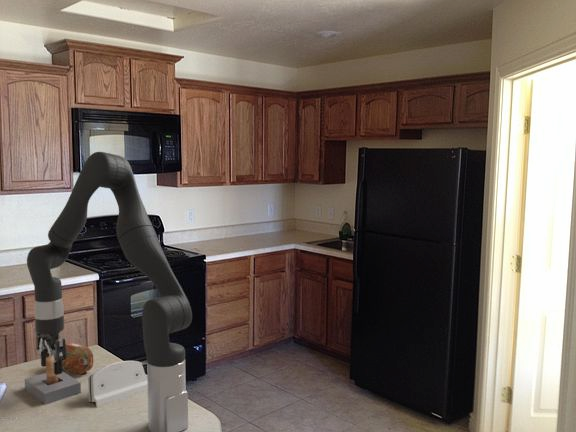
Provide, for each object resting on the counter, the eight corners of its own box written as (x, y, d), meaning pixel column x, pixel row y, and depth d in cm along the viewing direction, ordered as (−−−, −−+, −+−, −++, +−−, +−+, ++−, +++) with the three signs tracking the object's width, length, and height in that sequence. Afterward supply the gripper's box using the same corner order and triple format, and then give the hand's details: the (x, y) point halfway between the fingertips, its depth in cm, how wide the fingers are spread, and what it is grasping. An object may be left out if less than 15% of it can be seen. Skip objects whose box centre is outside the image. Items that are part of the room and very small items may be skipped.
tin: (53, 367, 169) (52, 342, 168) (61, 364, 172) (60, 339, 171) (87, 376, 163) (87, 350, 162) (95, 372, 166) (94, 346, 165)
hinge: (96, 407, 142) (89, 370, 144) (89, 407, 146) (82, 371, 147) (151, 389, 154) (145, 354, 155) (144, 389, 157) (138, 355, 159)
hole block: (80, 392, 151) (80, 382, 151) (45, 404, 144) (44, 393, 144) (59, 378, 161) (58, 369, 161) (25, 388, 154) (24, 378, 153)
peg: (60, 390, 152) (59, 357, 151) (49, 394, 150) (48, 360, 149) (55, 387, 154) (54, 354, 153) (45, 391, 152) (44, 357, 151)
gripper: (73, 316, 148) (76, 372, 150) (51, 307, 158) (54, 359, 159) (46, 322, 142) (49, 380, 144) (25, 312, 152) (28, 366, 154)
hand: (51, 369), depth 152 cm, fingers open, 8 cm apart
